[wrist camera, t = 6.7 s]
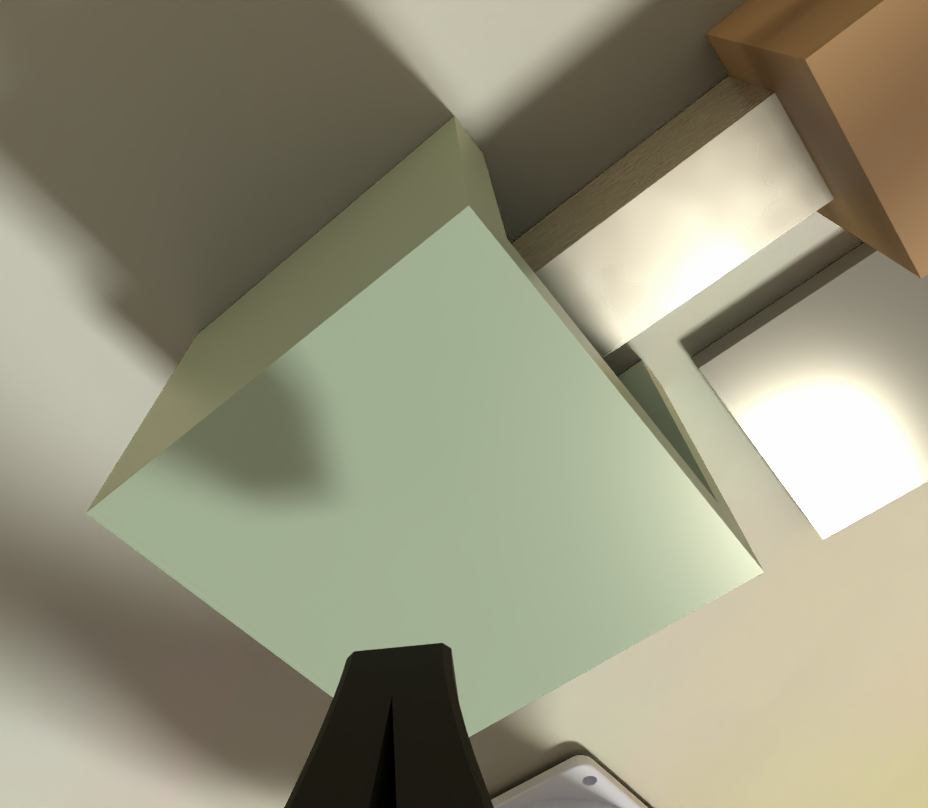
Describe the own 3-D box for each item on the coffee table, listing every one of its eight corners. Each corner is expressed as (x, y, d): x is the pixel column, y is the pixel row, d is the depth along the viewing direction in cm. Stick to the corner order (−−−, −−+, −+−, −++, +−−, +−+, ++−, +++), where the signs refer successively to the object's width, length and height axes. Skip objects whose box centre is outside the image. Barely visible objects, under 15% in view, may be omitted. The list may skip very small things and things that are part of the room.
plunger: (802, 202, 18) (904, 267, 14) (348, 519, 22) (331, 638, 18) (706, 36, 16) (793, 60, 12) (230, 414, 20) (184, 521, 16)
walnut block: (992, 69, 17) (1191, 106, 12) (802, 202, 18) (921, 278, 14) (909, -131, 15) (1107, -169, 11) (704, 33, 16) (805, 59, 12)
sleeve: (662, 386, 20) (764, 572, 14) (423, 545, 22) (421, 764, 16) (454, 116, 17) (468, 205, 11) (196, 335, 19) (85, 512, 13)
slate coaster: (1055, 389, 21) (1071, 400, 20) (814, 526, 23) (823, 539, 22) (957, 180, 18) (973, 187, 17) (691, 357, 20) (698, 368, 19)
